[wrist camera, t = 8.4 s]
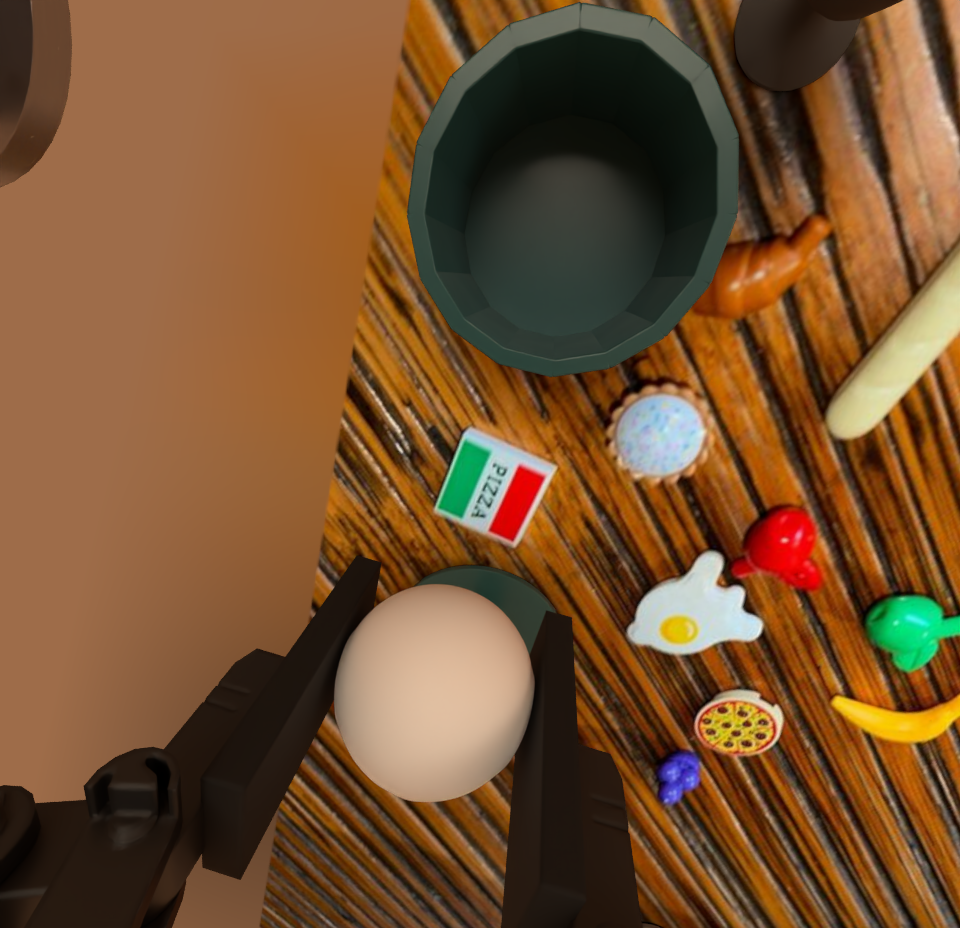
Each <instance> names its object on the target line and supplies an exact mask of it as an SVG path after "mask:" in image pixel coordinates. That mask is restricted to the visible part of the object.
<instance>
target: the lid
mask: <svg viewBox="0 0 960 928" xmlns="http://www.w3.org/2000/svg"><path fill="white" fill-rule="evenodd" d="M428 584H444V585H452V586H457V587H461V588H464V589H467V590H470V591H473V592H475V593H477V594H479V595H481V596H483V597H485V598H486V599H488V600H489V601H491V602H492V603H494V604H495V605H496V606H497V607H498V608H500V609H501V610H502V611H503V612H504V613H505V614H506V616H507V617H508V618H509V619H510V620H511V622H512V623H513V624H514V626H515V627H516V629H517V630H518V632H519V634H520V635H521V637H522V639H523V641H524V643H525V645H526V648H527V651H528V653H529V655H530V653H531V650H532V647H533V644H534V642H535V639H536V636H537V634H538V631H539V628H540V626H541V623H542V620H543V618H544V615H545V612H546V610H547V611H551V612H554V613H557V612H556V610H555V608H554V607H553V605H552V604H551V603H550V602H549V600H548V599H547V598H546V597H545V596H544V595H543V594H542V593H541V592H540V591H539V590H538V589H536V588H535V587H534V586H533V585H531V584H530V583H528V582H527V581H525V580H523V579H522V578H520V577H518V576H516V575H513V574H511V573H509V572H506V571H503V570H500V569H496V568H492V567H487V566H478V565H462V566H454V567H449V568H445V569H442V570H439V571H437V572H434V573H432V574H430V575H428V576H426V577H425V578H423V579H422V580H420V581H419V582H418V583H417V584H415V585H414V586H413V587H416V586H421V585H428Z"/></svg>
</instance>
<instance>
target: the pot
mask: <svg viewBox="0 0 960 928" xmlns="http://www.w3.org/2000/svg"><path fill="white" fill-rule="evenodd" d="M738 137H739V134H738V132H737V129H736V127H735V124H734V122H733V119H732V117H731V115H730V112H729V110H728V107H727V105H726V102H725V100H724V97H723V95H722V93H721V90H720V88H719V85H718V83H717V80H716V78H715V75H714V73H713V71H712V68H711V66H709V64H708V63H707V62H706V61H705V60H704V59H702V58H701V57H700V56H699V55H698V54H697V53H695V52H694V51H693V50H692V49H691V48H690V47H688V46H687V45H686V44H685V43H684V42H683V41H682V40H680V39H679V38H678V37H677V36H676V35H675V34H673V33H672V32H671V31H670V30H669V29H668V28H667V27H665V26H664V25H663V24H662V23H661V22H660V21H658V20H657V19H656V18H655V17H653V18H652V17H651V16H648V15H643V14H638V13H633V12H628V11H623V10H618V9H613V8H608V7H603V6H598V5H593V4H588V3H580V2H578V3H575V4H572V5H569V6H565V7H562V8H559V9H556V10H552V11H549V12H546V13H543V14H539V15H536V16H533V17H530V18H526V19H523V20H520V21H517V22H513V23H510V24H509V25H508V26H506V27H505V28H504V29H503V30H502V31H500V32H499V33H498V34H497V35H496V36H495V37H494V38H493V39H491V40H490V41H489V42H488V43H487V44H486V45H485V46H484V47H482V48H481V49H480V50H479V51H478V52H477V53H476V54H475V55H473V56H472V57H471V58H470V59H469V60H468V61H467V62H466V63H465V64H463V65H462V66H461V67H460V68H459V69H458V70H457V71H456V72H454V73H453V74H452V76H451V77H450V78H449V80H448V82H447V84H446V86H445V88H444V90H443V92H442V94H441V96H440V98H439V99H438V101H437V103H436V105H435V107H434V109H433V111H432V113H431V115H430V117H429V119H428V121H427V123H426V125H425V127H424V129H423V131H422V133H421V135H420V137H419V139H418V141H417V145H416V150H415V158H414V165H413V173H412V180H411V188H410V195H409V202H408V210H407V213H408V215H407V218H408V223H409V228H410V233H411V237H412V242H413V247H414V252H415V257H416V262H417V266H418V271H419V276H420V278H421V281H422V283H423V284H424V286H425V288H426V289H427V291H428V293H429V294H430V296H431V297H432V299H433V301H434V302H435V304H436V305H437V307H438V309H439V310H440V312H441V313H442V315H443V317H444V318H445V320H446V321H447V323H448V325H449V326H450V328H451V329H453V331H454V332H455V333H457V334H458V335H459V336H461V337H462V338H464V339H465V340H466V341H468V342H469V343H470V344H472V345H473V346H474V347H476V348H477V349H478V350H480V351H481V352H482V353H484V354H485V355H487V356H488V357H489V358H491V359H492V360H493V361H495V362H496V363H498V364H500V365H504V366H508V367H512V368H516V369H520V370H524V371H528V372H532V373H536V374H540V375H545V376H549V377H552V376H553V377H557V376H563V375H570V374H577V373H584V372H591V371H598V370H604V369H609V367H610V368H612V367H614V366H616V365H617V364H619V363H621V362H623V361H624V360H626V359H628V358H630V357H631V356H633V355H635V354H637V353H639V352H640V351H642V350H644V349H646V348H647V347H649V346H651V345H653V344H655V343H656V342H658V341H660V340H662V339H663V338H664V336H667V335H668V334H669V333H670V331H671V330H672V329H673V328H674V327H675V326H676V324H677V323H678V322H679V321H680V320H681V319H682V317H683V316H684V315H685V314H686V313H687V312H688V310H689V309H690V308H691V307H692V306H693V305H694V303H695V302H696V301H697V300H698V299H699V298H700V297H701V295H702V294H703V293H704V292H705V291H706V290H707V288H708V287H709V285H710V284H711V282H712V280H713V277H714V275H715V272H716V270H717V267H718V265H719V262H720V259H721V257H722V254H723V252H724V249H725V247H726V244H727V241H728V239H729V236H730V234H731V231H732V229H733V226H734V223H735V221H736V218H737V215H736V214H737V213H738V174H739V138H738Z"/></svg>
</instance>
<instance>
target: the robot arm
mask: <svg viewBox="0 0 960 928" xmlns="http://www.w3.org/2000/svg"><path fill="white" fill-rule="evenodd" d="M380 568H381V562H378V561H375V560H371V559H368V558H364V557H361V556H356V557H355V559H354V560H353V562H352V563H351V565H350V566H349V567H348V569H347V570H346V572H345V573H344V575H343V576H342V577H341V579H340V580H339V582H338V583H337V584H336V586H335V587H334V589H333V590H332V592H331V593H330V594H329V596H328V597H327V599H326V600H325V601H324V603H323V604H322V606H321V607H320V609H319V610H318V611H317V613H316V614H315V616H314V617H313V619H312V620H311V621H310V623H309V624H308V626H307V627H306V628H305V630H304V631H303V633H302V634H301V636H300V637H299V638H298V640H297V642H296V643H295V644H294V645H293V647H292V648H291V650H290V651H289V653H288V654H287V656H286V657H283V656H280V655H277V654H274V653H270V652H267V651H263V650H260V649H256V650H254V651H252V652H251V653H250V654H248V655H246V656H245V657H243V658H242V659H240V660H239V661H237V662H236V663H235V664H234V665H233V666H232V667H231V669H230V670H229V671H228V672H227V673H226V675H225V676H224V677H223V678H222V679H221V681H220V682H219V684H218V686H216V687H215V688H214V689H213V690H212V692H211V693H210V694H209V695H208V696H207V698H206V700H205V702H204V703H202V704H201V705H200V706H199V707H198V709H197V710H196V711H195V712H194V713H193V715H192V716H191V717H190V718H189V719H188V721H187V722H186V723H185V724H184V725H183V727H182V728H181V729H180V730H179V732H178V733H177V734H176V735H175V736H174V738H173V739H172V740H171V741H170V743H169V744H168V745H167V746H166V747H165V749H159V748H155V747H148V748H140V749H134V750H132V751H129V752H127V753H124V754H122V755H119V756H117V757H115V758H114V759H112V760H111V761H109V762H108V763H107V764H106V765H104V766H102V767H101V768H100V769H98V770H97V771H96V773H95V774H94V775H93V776H92V777H91V778H90V779H89V781H88V782H87V783H86V784H85V785H84V790H85V796H86V800H78V801H63V802H47V803H35V801H34V798H33V794H32V793H30V792H29V791H27V790H26V789H24V788H23V787H21V786H7V785H3V786H0V928H172V926H173V923H174V921H175V918H176V915H177V913H178V910H179V907H180V905H181V902H182V899H183V895H184V890H185V885H186V878H187V877H188V875H189V874H190V872H191V870H192V869H193V867H194V865H195V864H196V862H197V861H198V859H199V857H200V855H201V854H202V864H203V868H206V869H209V870H212V871H215V872H218V873H221V874H224V875H227V876H230V877H233V878H236V879H239V880H241V878H242V876H243V874H244V872H245V870H246V868H247V866H248V864H249V863H250V861H251V859H252V857H253V855H254V853H255V851H256V849H257V847H258V845H259V843H260V841H261V839H262V837H263V835H264V834H265V832H266V830H267V828H268V826H269V824H270V822H271V820H272V818H273V816H274V814H275V812H276V810H277V809H278V807H279V805H280V803H281V801H282V799H283V797H284V795H285V793H286V791H287V789H288V787H289V785H290V783H291V782H292V780H293V778H294V776H295V774H296V772H297V770H298V768H299V766H300V764H301V762H302V760H303V758H304V756H305V755H306V753H307V751H308V749H309V747H310V745H311V743H312V741H313V739H314V737H315V735H316V733H317V731H318V729H319V728H320V726H321V724H322V722H323V720H324V718H325V716H326V714H327V712H328V710H329V708H330V706H331V704H332V702H333V701H334V688H335V680H336V674H337V669H338V665H339V661H340V658H341V655H342V652H343V649H344V647H345V645H346V642H347V640H348V638H349V637H350V635H351V634H352V632H353V631H354V630H355V629H356V628H357V627H358V625H359V624H360V623H361V621H362V620H363V619H364V618H365V617H366V616H367V615H368V614H369V613H370V612H371V611H372V610H373V608H374V602H375V596H376V591H377V585H378V579H379V574H380ZM529 657H530V660H531V665H532V670H533V674H534V678H535V691H534V699H533V706H532V711H531V715H530V719H529V722H528V725H527V728H526V731H525V734H524V736H523V739H522V741H521V743H520V745H519V747H518V749H517V751H516V752H515V763H514V775H513V788H512V800H511V812H510V825H509V837H508V849H507V861H506V874H505V886H504V898H503V911H502V923H501V928H643V926H642V921H641V915H640V908H639V901H638V893H637V886H636V878H635V871H634V864H633V856H632V849H631V841H630V834H629V833H628V828H629V827H628V819H627V812H626V810H625V806H626V805H625V797H624V790H623V782H622V778H621V776H620V774H619V772H618V769H617V767H616V765H615V763H614V761H613V759H612V757H611V755H610V754H609V753H606V752H602V751H599V750H596V749H592V748H589V747H586V746H582V745H579V744H578V728H577V708H576V689H575V670H574V651H573V632H572V617H568V616H565V615H561V614H558V613H554V612H551V611H547V610H546V612H545V615H544V618H543V620H542V623H541V626H540V628H539V631H538V634H537V636H536V639H535V642H534V644H533V647H532V650H531V653H530V655H529Z"/></svg>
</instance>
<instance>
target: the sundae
mask: <svg viewBox="0 0 960 928" xmlns="http://www.w3.org/2000/svg"><path fill="white" fill-rule="evenodd" d="M900 1H902V0H743V1H742V3H741V6H740V10H739V13H738V17H737V22H736V27H735V48H736V54H737V59H738V61H739V63H740V65H741V67H742V69H743V71H744V72H745V74H746V75H747V77H748V78H749V79H750V80H751V81H753V82H754V83H755V84H757V85H759V86H761V87H763V88H765V89H767V90H774V91H791V90H794V89H797V88H800V87H803V86H805V85H807V84H809V83H812V82H814V81H815V80H817V79H818V78H819V77H821V76H822V75H823V74H825V73H826V72H827V71H828V70H829V69H830V68H831V67H832V66H834V65H835V64H836V63H837V61H838V60H839V59H840V57H841V56H842V55H843V53H844V52H845V51H846V49H847V47H848V46H849V44H850V42H851V41H852V39H853V37H854V35H855V32H856V30H857V27H858V24H859V21H860V18H863V17H866V16H868V15H871V14H873V13H876V12H878V11H880V10H883V9H885V8H887V7H890V6H892V5H894V4H896V3H898V2H900Z"/></svg>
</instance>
